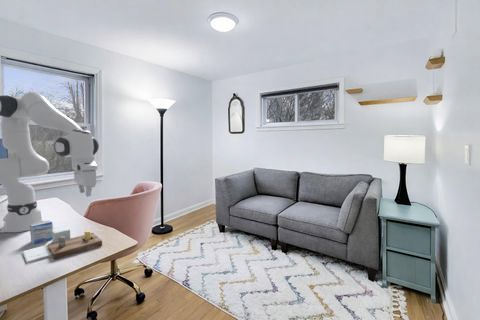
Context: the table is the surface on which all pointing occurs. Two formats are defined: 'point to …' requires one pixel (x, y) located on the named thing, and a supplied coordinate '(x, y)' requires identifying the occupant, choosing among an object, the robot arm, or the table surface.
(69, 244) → the board
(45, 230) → the medicine box
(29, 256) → the external hard drive
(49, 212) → the table surface
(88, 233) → the peg
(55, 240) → the light grey cube
